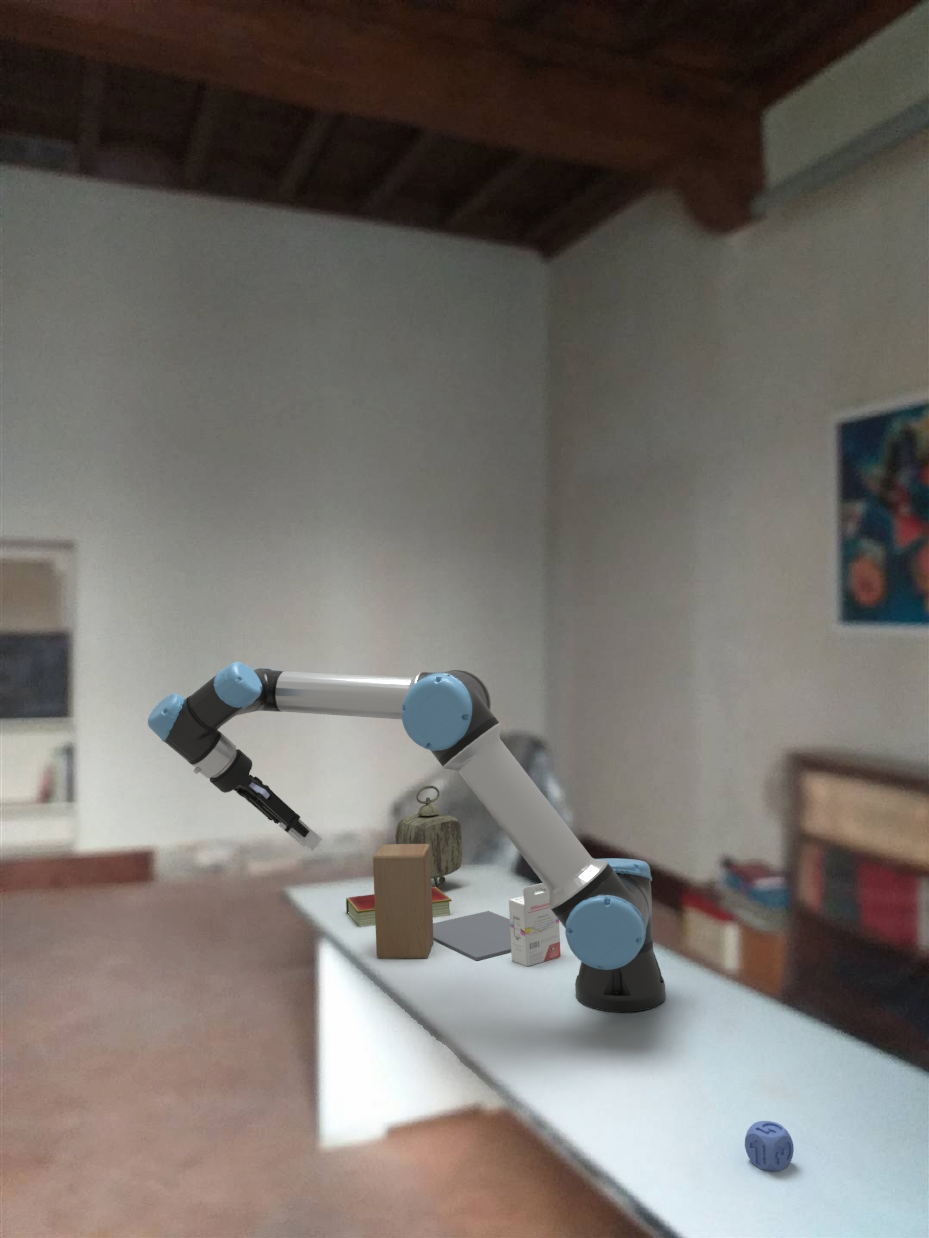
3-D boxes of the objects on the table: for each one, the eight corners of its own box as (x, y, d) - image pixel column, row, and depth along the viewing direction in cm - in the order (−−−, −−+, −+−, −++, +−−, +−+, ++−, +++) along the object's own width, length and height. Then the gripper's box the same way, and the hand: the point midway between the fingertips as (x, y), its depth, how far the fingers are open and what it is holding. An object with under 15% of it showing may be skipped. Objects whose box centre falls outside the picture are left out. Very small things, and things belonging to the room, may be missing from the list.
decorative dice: (744, 1160, 120) (743, 1126, 120) (768, 1150, 122) (766, 1116, 122) (771, 1175, 117) (770, 1140, 117) (794, 1164, 119) (793, 1130, 119)
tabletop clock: (443, 880, 253) (440, 780, 253) (467, 887, 246) (463, 783, 246) (396, 892, 243) (393, 788, 243) (419, 899, 236) (416, 792, 236)
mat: (555, 940, 203) (555, 937, 203) (476, 960, 193) (476, 957, 193) (488, 913, 223) (488, 910, 223) (413, 930, 213) (413, 927, 213)
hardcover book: (346, 914, 228) (345, 895, 228) (436, 903, 235) (435, 884, 235) (358, 929, 217) (357, 909, 217) (451, 917, 223) (451, 898, 223)
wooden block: (434, 942, 205) (430, 843, 205) (427, 958, 195) (423, 854, 195) (385, 942, 206) (381, 843, 206) (376, 959, 196) (372, 855, 196)
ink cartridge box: (544, 950, 197) (541, 874, 197) (561, 956, 193) (558, 879, 193) (509, 960, 192) (507, 882, 192) (526, 967, 188) (523, 888, 188)
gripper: (194, 775, 187) (282, 851, 196) (224, 785, 173) (317, 867, 182) (221, 743, 190) (306, 819, 199) (253, 751, 176) (343, 833, 185)
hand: (311, 842), depth 190 cm, fingers open, 3 cm apart
